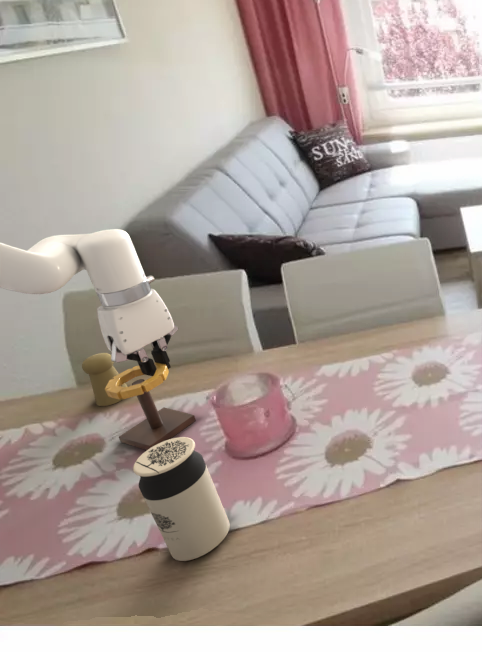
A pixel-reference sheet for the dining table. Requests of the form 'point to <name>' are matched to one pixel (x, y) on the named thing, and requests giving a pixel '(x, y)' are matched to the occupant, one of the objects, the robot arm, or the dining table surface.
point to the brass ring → (120, 392)
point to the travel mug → (182, 498)
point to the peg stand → (155, 424)
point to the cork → (101, 376)
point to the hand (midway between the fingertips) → (158, 370)
